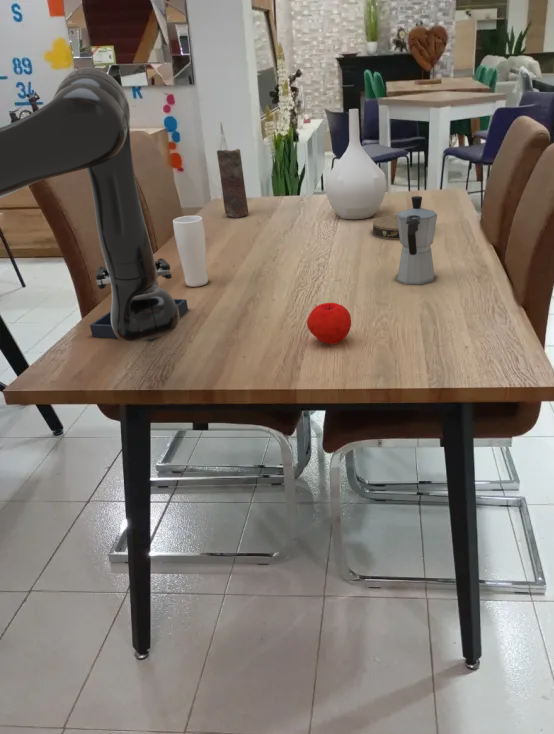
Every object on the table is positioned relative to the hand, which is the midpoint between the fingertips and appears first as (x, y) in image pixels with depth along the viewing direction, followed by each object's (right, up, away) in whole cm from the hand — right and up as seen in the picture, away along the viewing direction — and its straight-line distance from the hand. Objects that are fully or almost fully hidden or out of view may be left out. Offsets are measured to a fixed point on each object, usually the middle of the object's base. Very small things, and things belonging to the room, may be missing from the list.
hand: (130, 263), depth 137 cm
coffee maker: (+59, 0, +18) cm, 62 cm away
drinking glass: (+9, +1, +24) cm, 26 cm away
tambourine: (+60, +21, +55) cm, 84 cm away
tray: (+1, -11, +4) cm, 12 cm away
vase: (+49, +32, +74) cm, 94 cm away
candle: (+11, +35, +83) cm, 91 cm away
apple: (+40, -17, -10) cm, 44 cm away
